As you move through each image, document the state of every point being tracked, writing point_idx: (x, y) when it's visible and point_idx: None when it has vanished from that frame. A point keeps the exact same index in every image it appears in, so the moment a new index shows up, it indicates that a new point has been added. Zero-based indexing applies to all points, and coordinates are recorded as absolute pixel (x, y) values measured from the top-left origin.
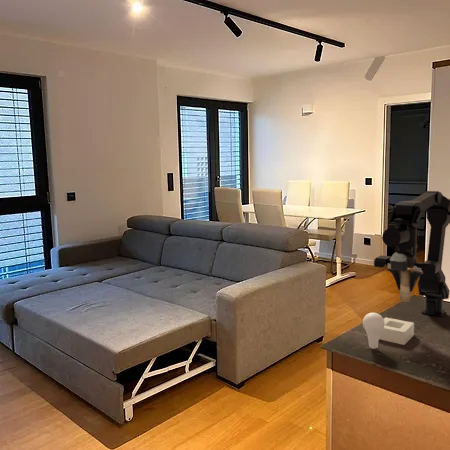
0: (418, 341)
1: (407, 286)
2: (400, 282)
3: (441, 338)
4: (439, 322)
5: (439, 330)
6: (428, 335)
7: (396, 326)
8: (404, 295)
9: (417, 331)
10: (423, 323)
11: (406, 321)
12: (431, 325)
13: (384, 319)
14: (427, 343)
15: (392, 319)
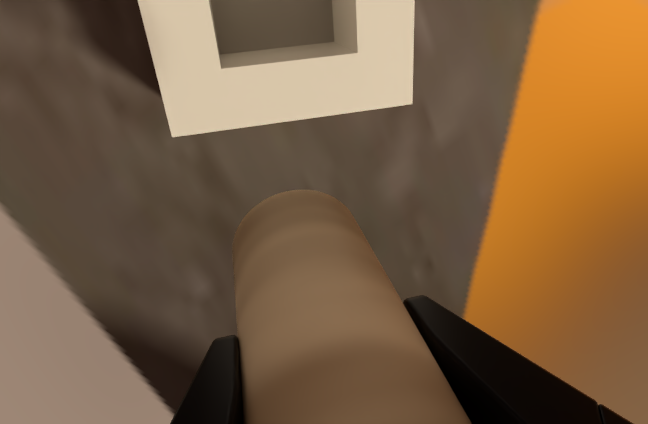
0: (84, 11)
1: (275, 378)
2: (457, 407)
3: (8, 176)
4: (177, 373)
5: (106, 282)
6: (104, 168)
7: (290, 54)
8: (292, 236)
9: (197, 183)
10: (235, 310)
11: (238, 127)
12: (185, 314)
13: (402, 48)
14: (9, 17)
15: (348, 93)
